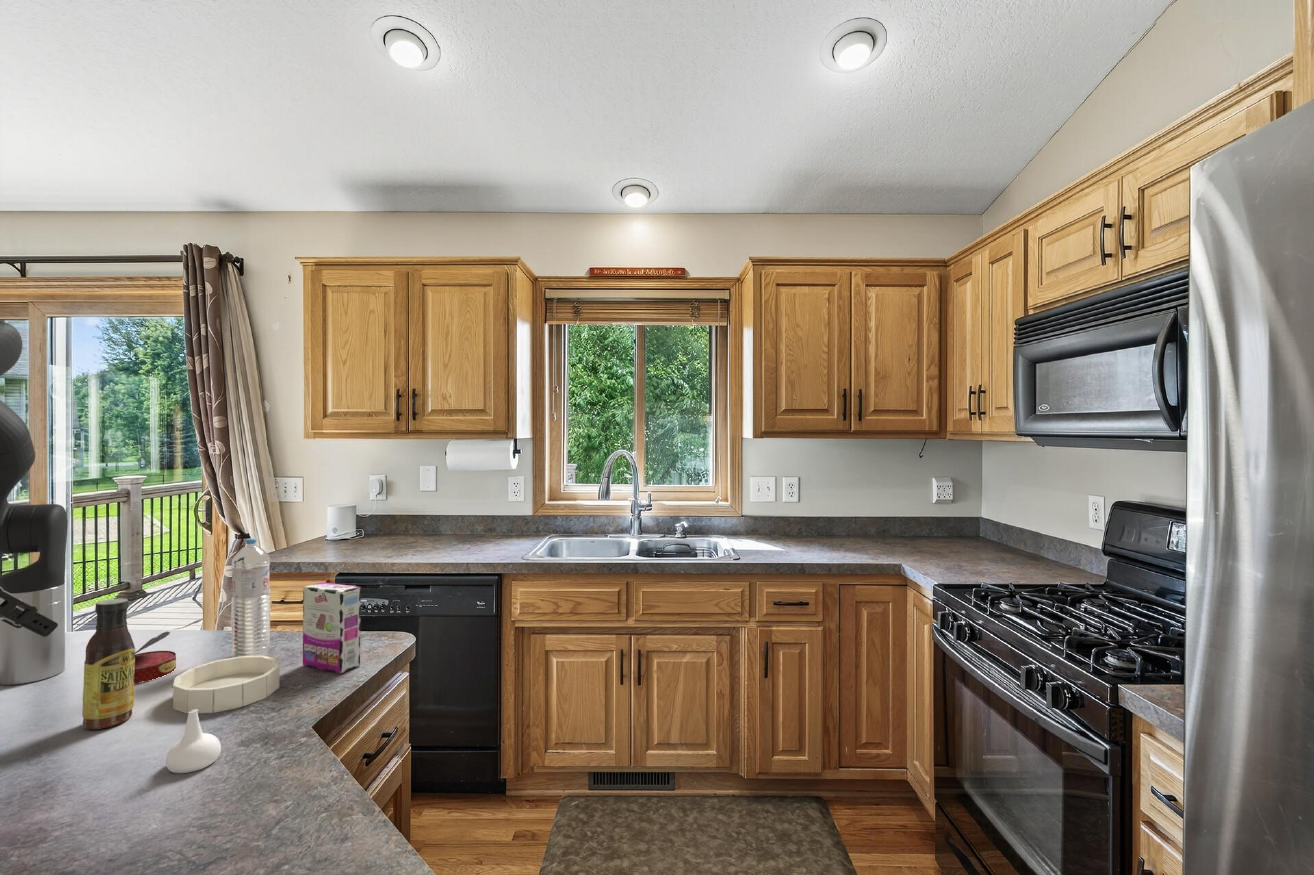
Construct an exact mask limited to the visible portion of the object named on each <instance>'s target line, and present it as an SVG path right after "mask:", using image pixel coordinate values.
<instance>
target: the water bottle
mask: <svg viewBox="0 0 1314 875" xmlns="http://www.w3.org/2000/svg"><path fill="white" fill-rule="evenodd" d="M245 545H246V546H245V547H243V548H242V549H240V550H239V551H238V552H237V553H236V554H235V555H234V556H233V558H232V559H231V569H232V571H231V572H232V573H231V574H232V575H231V576H232V578H231V581H232V582H231V584H232V586H231V589H232V590H231V591H232V592H231V599H230V600H231V608H230V609H231V613H230V614H231V618H230V619H231V625H230V626H231V636H230V638H231V642H230V644H231V647H230V648H231V651H230V652H231V658H234V657H240V656H241V657H242V656H268V655H269V652H270V649H271V647H270V646H271V639H270V638H271V627H270V626H271V606H270V605H271V592H270V564H271V557H270V555H269V553H267V551H265V549H263V548H262V547H260V546H258V545H257V538H246V539H245Z"/></svg>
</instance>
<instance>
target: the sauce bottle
mask: <svg viewBox="0 0 1314 875" xmlns="http://www.w3.org/2000/svg"><path fill="white" fill-rule="evenodd" d="M94 608H95V609H94V611H95V612H96V624H95V625H96V626H95V633H94V634H93V635H92V636H91V637H90V639H89V640H88V643H87V644H86V646H85V659H84V660H85V661H84V665H83V666H84V667H83V669H84V670H83V688H82V689H83V691H82V714H81V715H82V716H81V717H82V719H83V720H82V726H83V729H86V730H100V729H106V728H111V727H114V726H117V725H121V724H123V723H124V722H126V721H127V720H129V719H130V718H131V717H132V715H133V708H134V700H135V699H134V698H135V696H134V695H135V684H134V672H135V652H136V647H135V644H134V641H133V638H132V635H131V633H130V631H129V628H128V621H127V615H128V614H127V612H128V610H129V609H128V608H129V600H128V599H127V598H111V599H105V600H100V601H98V602H96V603H95V607H94Z"/></svg>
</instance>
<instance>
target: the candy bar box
mask: <svg viewBox="0 0 1314 875" xmlns="http://www.w3.org/2000/svg"><path fill="white" fill-rule="evenodd" d="M302 588H303V589H302V591H303V593H302V594H303V595H302V596H303V598H302V666H303V667H307V668H312V669H316V670H321V671H325V672H331V673H336V674H344V673H347V672H348V671H351V670H354V669H356V668H359V667H360V666H361V607H362V606H361V596H362V595H361V593H362V592H361V590H362V589H361V588H362V587H361V586H355V585H350V584H349V585H348V584H347V585H346V584H340V583H339V584H338V583H331V582H323V581H322V582H318V583H313V584H310V585H306V586H303V587H302Z"/></svg>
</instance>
